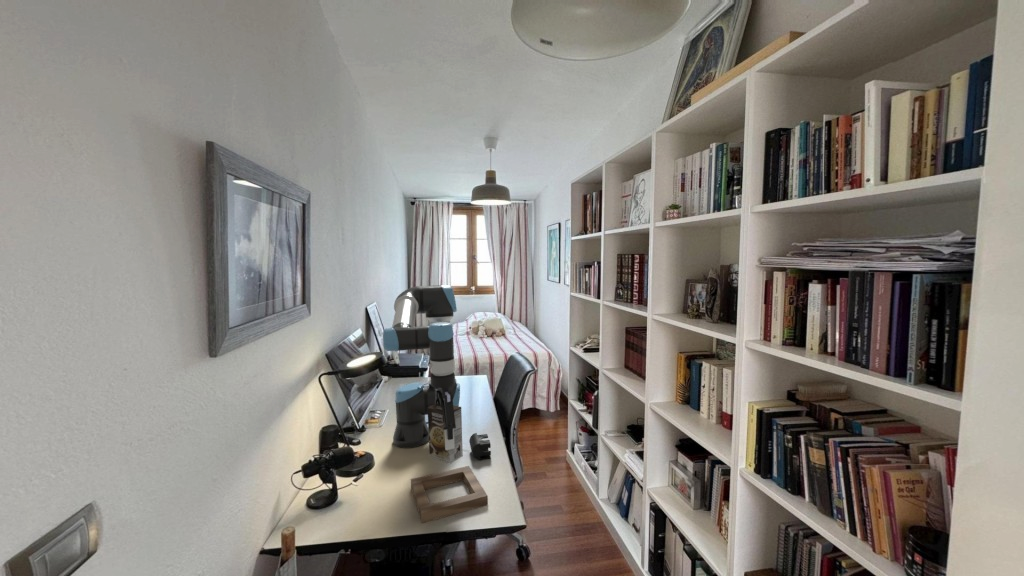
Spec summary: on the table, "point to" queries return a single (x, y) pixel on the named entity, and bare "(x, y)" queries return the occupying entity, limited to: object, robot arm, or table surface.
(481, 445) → the end cap
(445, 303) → the robot arm
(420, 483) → the walnut hole plate
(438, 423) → the coffee box
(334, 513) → the table surface
